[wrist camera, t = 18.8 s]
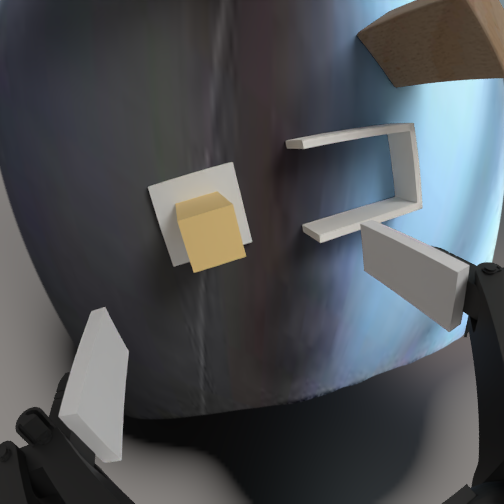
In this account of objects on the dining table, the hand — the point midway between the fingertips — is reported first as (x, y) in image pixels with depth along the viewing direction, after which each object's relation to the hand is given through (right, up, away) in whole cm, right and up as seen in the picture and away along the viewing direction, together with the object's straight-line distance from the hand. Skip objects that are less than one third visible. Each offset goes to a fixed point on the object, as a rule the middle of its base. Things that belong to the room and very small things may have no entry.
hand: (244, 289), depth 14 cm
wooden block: (+21, +32, +20) cm, 44 cm away
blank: (-5, +6, +21) cm, 22 cm away
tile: (-6, +6, +21) cm, 23 cm away
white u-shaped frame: (+14, +12, +25) cm, 31 cm away
